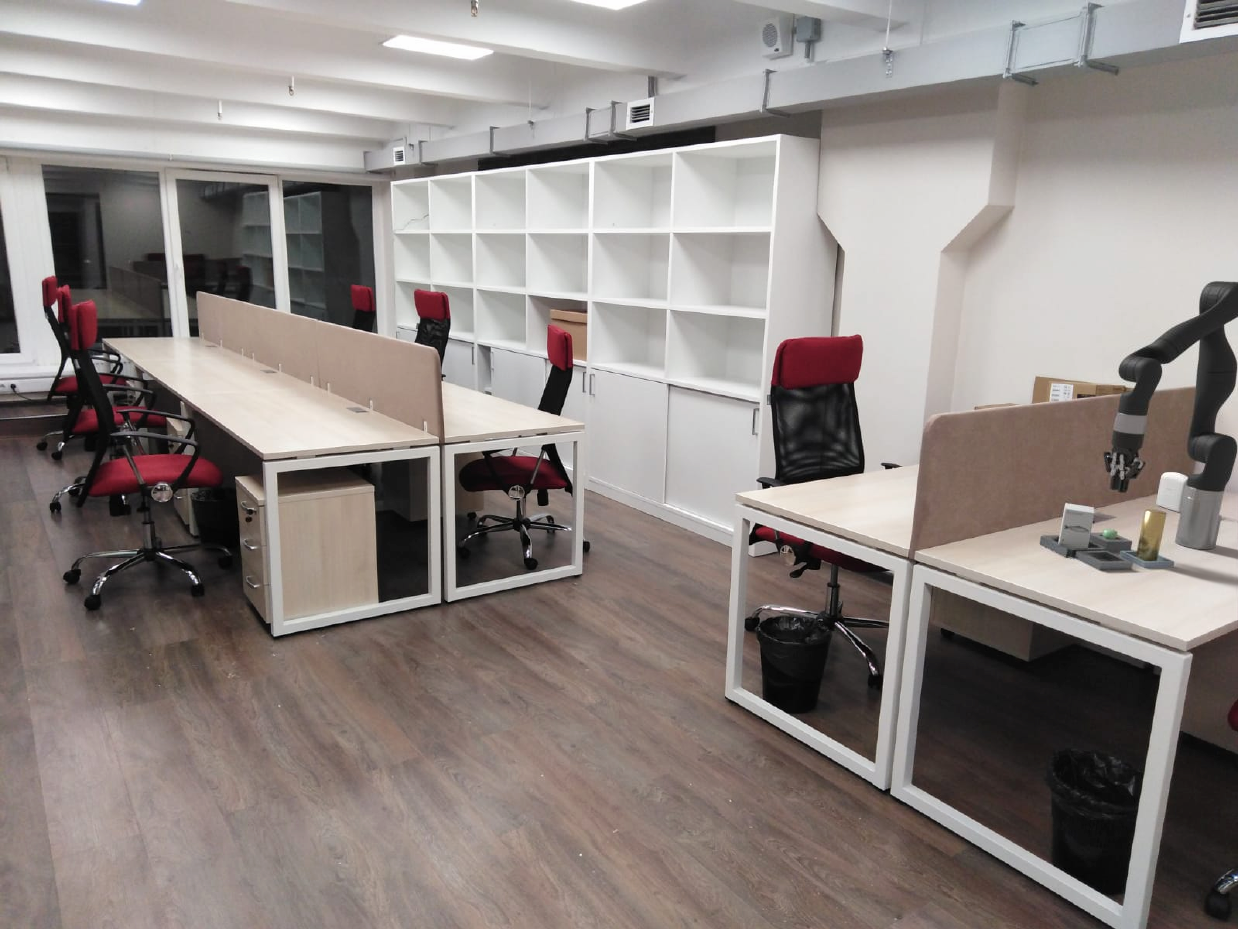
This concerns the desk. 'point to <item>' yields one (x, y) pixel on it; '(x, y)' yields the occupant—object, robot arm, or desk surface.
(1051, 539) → the gray compartment tray
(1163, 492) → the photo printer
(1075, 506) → the supplement box
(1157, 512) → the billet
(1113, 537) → the button
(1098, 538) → the grey square socket block
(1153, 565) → the tote tray
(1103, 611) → the desk surface
